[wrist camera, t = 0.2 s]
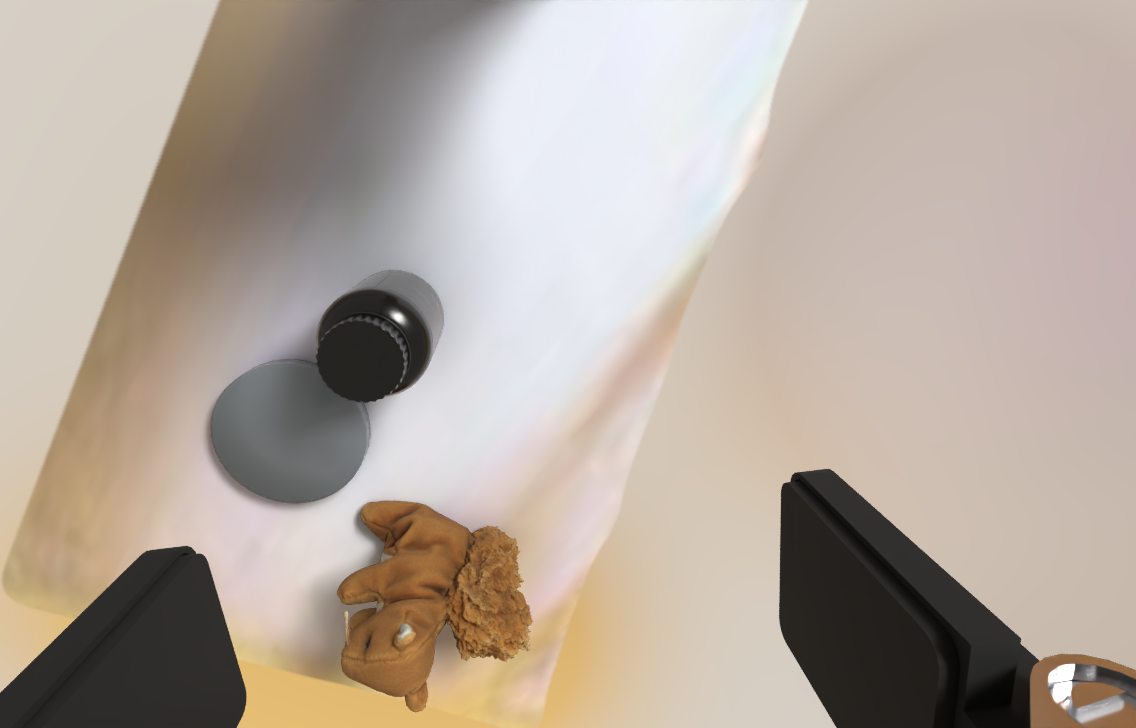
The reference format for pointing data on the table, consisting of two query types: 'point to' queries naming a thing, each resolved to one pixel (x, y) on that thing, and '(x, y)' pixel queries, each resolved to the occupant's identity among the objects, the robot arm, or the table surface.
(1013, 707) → the robot arm
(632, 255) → the table surface
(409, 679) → the stuffed squirrel
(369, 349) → the supplement bottle
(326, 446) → the slate plate
